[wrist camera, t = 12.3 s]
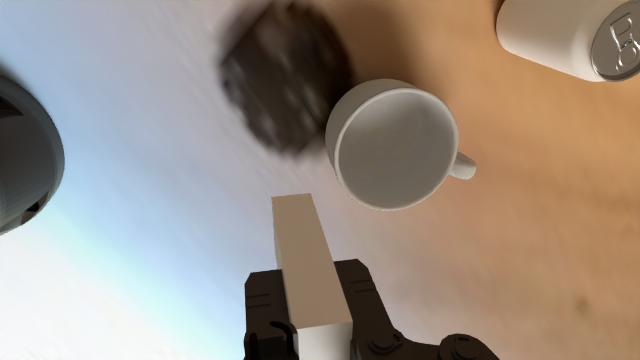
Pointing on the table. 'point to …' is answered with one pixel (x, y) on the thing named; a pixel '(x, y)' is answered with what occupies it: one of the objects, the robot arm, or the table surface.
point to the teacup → (393, 144)
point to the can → (575, 36)
